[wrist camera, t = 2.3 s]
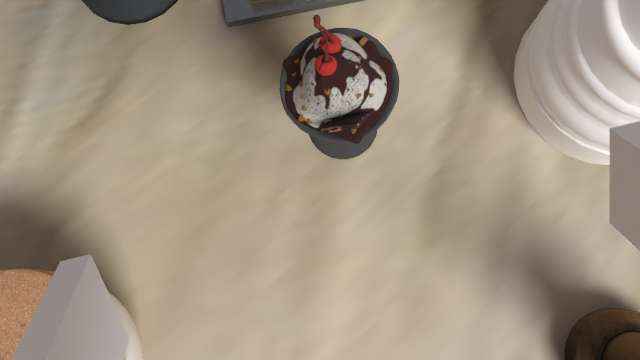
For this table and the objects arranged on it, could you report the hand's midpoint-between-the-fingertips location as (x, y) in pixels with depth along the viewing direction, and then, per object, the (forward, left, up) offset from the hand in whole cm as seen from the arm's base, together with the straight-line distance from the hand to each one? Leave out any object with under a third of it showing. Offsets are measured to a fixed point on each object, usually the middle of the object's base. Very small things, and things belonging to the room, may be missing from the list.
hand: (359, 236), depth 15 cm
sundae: (+1, +9, -28) cm, 30 cm away
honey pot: (+20, +9, -28) cm, 36 cm away
